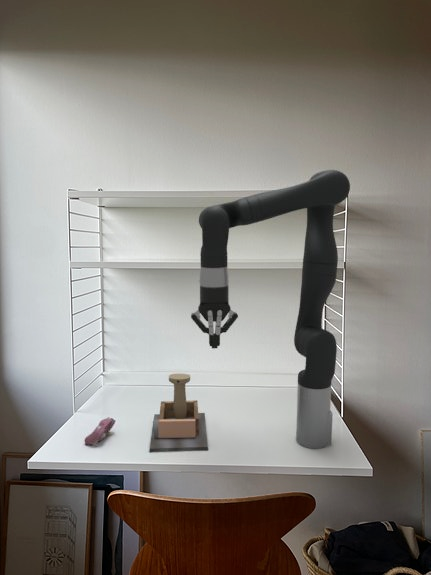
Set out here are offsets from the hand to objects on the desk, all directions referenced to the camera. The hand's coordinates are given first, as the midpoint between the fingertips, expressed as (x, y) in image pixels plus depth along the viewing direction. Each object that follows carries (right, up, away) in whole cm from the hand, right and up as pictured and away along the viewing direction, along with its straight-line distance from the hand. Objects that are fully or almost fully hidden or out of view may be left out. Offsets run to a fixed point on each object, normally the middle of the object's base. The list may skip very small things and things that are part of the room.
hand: (214, 347), depth 128 cm
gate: (-11, -27, +9) cm, 30 cm away
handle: (-11, -26, +18) cm, 33 cm away
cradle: (-10, -27, +14) cm, 32 cm away
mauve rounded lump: (-33, -28, +11) cm, 44 cm away
